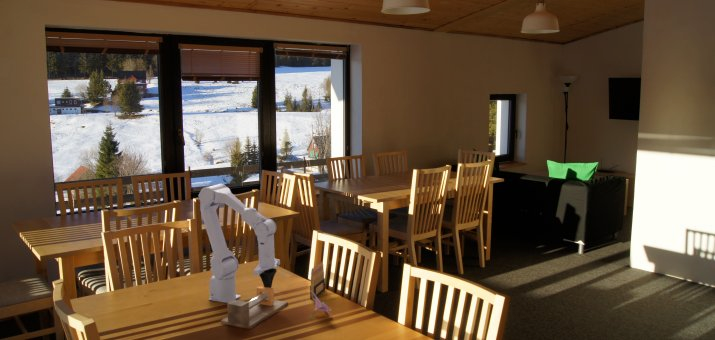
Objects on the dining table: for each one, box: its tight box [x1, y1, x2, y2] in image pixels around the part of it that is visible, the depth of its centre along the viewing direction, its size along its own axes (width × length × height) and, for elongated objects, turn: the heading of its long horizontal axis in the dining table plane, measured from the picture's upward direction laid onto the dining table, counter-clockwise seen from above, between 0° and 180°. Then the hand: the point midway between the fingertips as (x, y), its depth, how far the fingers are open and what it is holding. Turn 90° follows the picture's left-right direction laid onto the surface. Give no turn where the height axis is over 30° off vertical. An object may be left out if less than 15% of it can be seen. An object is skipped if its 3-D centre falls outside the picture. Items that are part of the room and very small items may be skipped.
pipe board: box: [220, 299, 289, 330], centre depth 213 cm, size 12×24×8 cm, turn 155°
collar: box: [256, 285, 275, 306], centre depth 218 cm, size 6×2×6 cm, turn 65°
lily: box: [308, 288, 334, 321], centre depth 208 cm, size 12×12×10 cm
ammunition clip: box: [309, 261, 326, 300], centre depth 231 cm, size 11×2×12 cm, turn 160°
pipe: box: [247, 291, 275, 309], centre depth 213 cm, size 3×18×3 cm, turn 155°
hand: (267, 288), depth 220 cm, fingers closed
